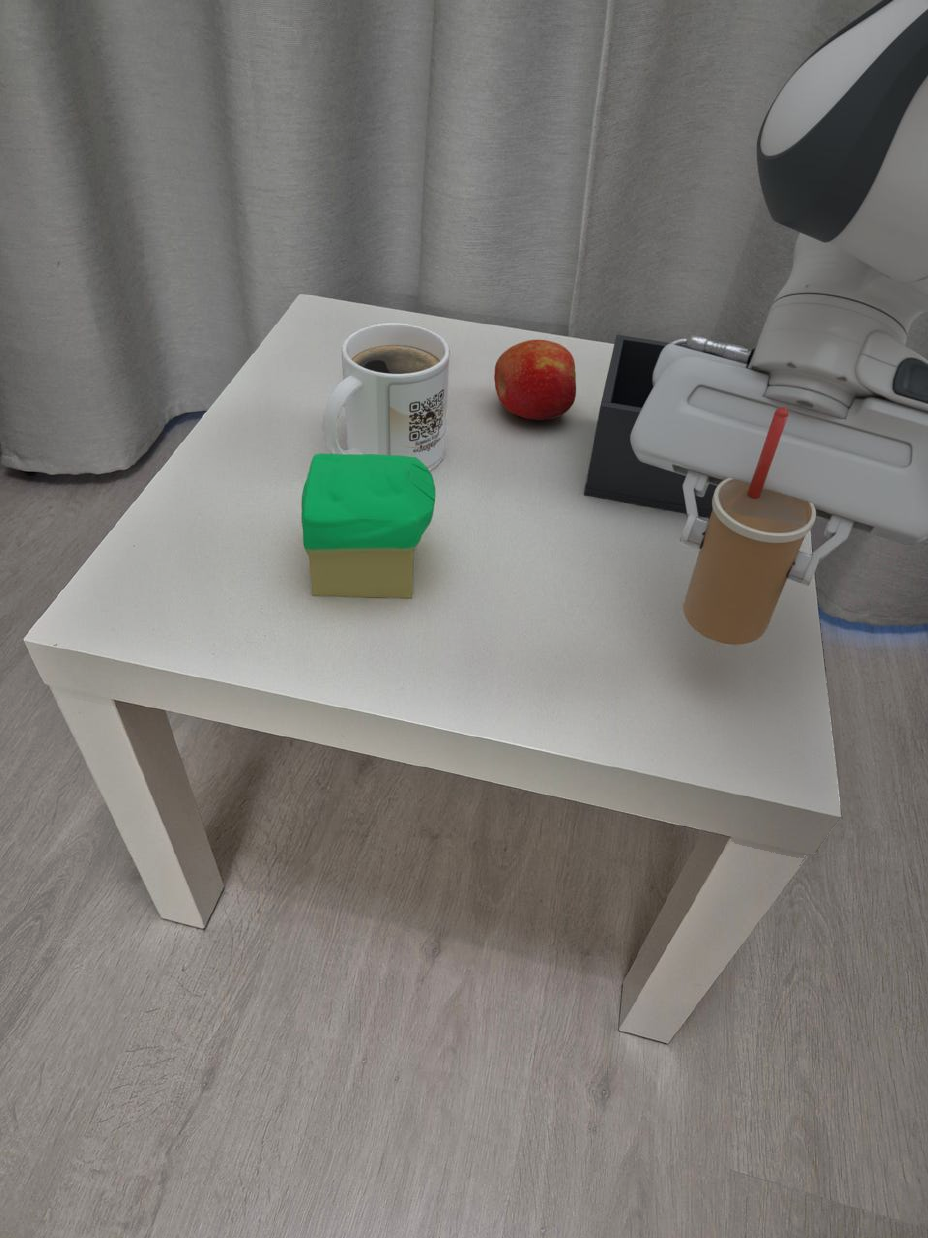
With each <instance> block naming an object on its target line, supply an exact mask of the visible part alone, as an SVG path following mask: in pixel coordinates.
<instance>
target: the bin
mask: <svg viewBox="0 0 928 1238" xmlns="http://www.w3.org/2000/svg"><path fill="white" fill-rule="evenodd" d="M669 343H670V342H667V341H660V340H655V339H649V338H642V337H635V336H629V335H623V334H616V335H615V339H614V343H613V348H612V352H611V357H610V362H609V365H608V369H607V374H606V379H605V384H604V388H603V392H602V398H601V402H600V405H599V411H598V416H597V422H596V427H595V433H594V438H593V443H592V448H591V454H590V460H589V465H588V470H587V475H586V476H587V477H586V482H585V486H584V492H583V495H584V496H589V497H594V498H599V499H605V500H610V501H615V502H616V501H617V502H622V503H628V504H633V505H638V506H644V507H650V508H655V509H660V510H665V511H670V512H671V511H672V512H678V513H683V514H687V510H686V504H685V498H684V492H683V483H684V481H685V478H686V476H684V475H681V474H678V473H675V472H672V471H669V470H665V469H662V468H659V467H656V466H653V465H649V464H646V463H643V462H641V461H639V459H638V458H637V456H636V455H635V453H634V451H633V448H632V445H631V441H630V436H631V432H632V429H633V427H634V425H635V422H636V420H637V418H638V416H639V414H640V412H641V410H642V407H643V406H644V404H645V402H646V400H647V398H648V396H649V394H650V393H651V391H652V389H653V387H654V386H653V381H652V375H653V371H654V368H655V366H656V363H657V360H658V358H659V355H660V353H661V351H662V350H663V348H664V347H665V346H666V345H667V344H669ZM678 346H681V347H685V348H686V344H682V345H678ZM748 366H749V365H747V368H748ZM716 488H717V486H716V485H713V484H710V483H709V485H708V487H707V490H706V492H705V495H704V496H703V497H699V496H697V495H696V494H695V500H696V506H697V512H698V517H700V516H701V517H705V518H710V516H711V513H712V509H713V507H712V499H713V495H714V492H715V490H716Z"/></svg>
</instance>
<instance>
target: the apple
mask: <svg viewBox="0 0 928 1238" xmlns="http://www.w3.org/2000/svg"><path fill="white" fill-rule="evenodd" d="M494 365H495V366H494V374H493V375H494V376H493V379H494V386H495V387H494V388H495V391H496V394H497V397H498V400H499V402H500V404H501V405H502V406H503V408H504V409H505V410H506V411H507V412H508V413H511V414H512V415H515V416H516V417H519V418H522V419H526V420H534V421H545V420H546V421H547V420H551V419H555V418H557V417H560V416H562V415H564V414H566V413H567V412H568V411H570V409H571V408H572V407H573V405H574V403H575V401H576V397H577V375H576V374H577V373H576V372H577V371H576V362H575V359H574V356H573V354H572V353H571V351H569V350H568V348H566V347H565V346H564V345H562V344H561V343H557V342H554V341H551V340H545V339H528V340H525V341H522V342H519V343H516V344H514V345H512V346H511V347H509V348H507V349H506V350H505V351H503V353H501V355H500V356H499V357H498V359H497V361H496V362H495V364H494Z"/></svg>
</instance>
